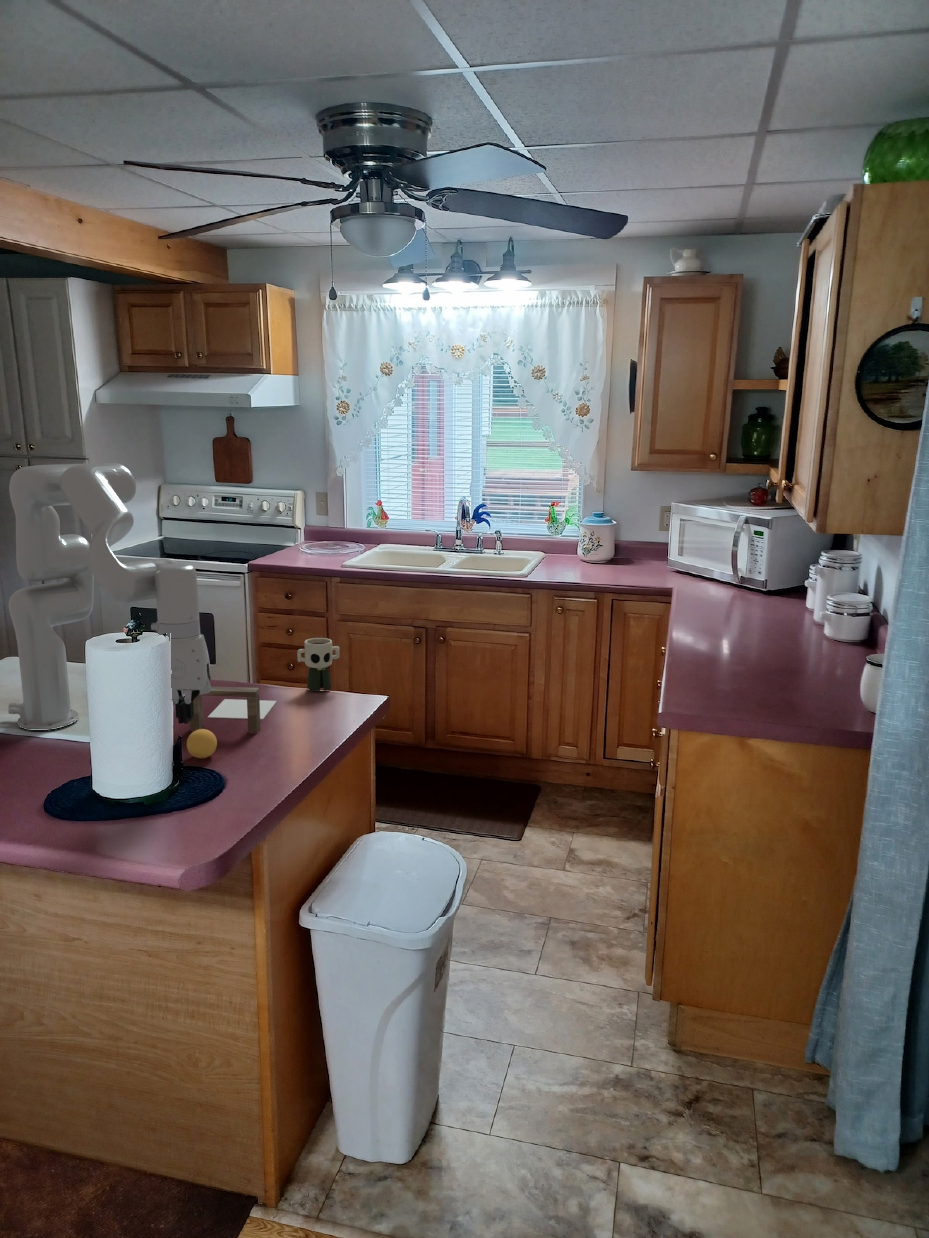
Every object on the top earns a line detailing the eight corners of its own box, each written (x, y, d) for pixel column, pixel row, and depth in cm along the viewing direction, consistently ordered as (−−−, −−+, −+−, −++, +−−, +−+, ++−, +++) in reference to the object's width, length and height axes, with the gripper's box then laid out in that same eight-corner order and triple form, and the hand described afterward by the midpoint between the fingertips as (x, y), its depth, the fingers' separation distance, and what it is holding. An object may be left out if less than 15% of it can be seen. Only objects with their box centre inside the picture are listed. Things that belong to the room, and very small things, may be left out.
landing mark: (207, 717, 206) (207, 716, 206) (224, 699, 219) (224, 699, 219) (263, 719, 206) (263, 718, 206) (276, 701, 218) (276, 700, 218)
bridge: (257, 733, 197) (255, 692, 195) (190, 731, 197) (188, 689, 195) (260, 728, 200) (259, 687, 198) (195, 726, 200) (192, 685, 198)
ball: (183, 762, 180) (181, 734, 179) (193, 751, 186) (191, 724, 185) (212, 763, 180) (211, 735, 179) (221, 752, 186) (220, 725, 185)
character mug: (301, 695, 223) (300, 646, 220) (295, 687, 230) (294, 639, 227) (343, 691, 227) (342, 642, 224) (336, 683, 234) (335, 636, 231)
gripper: (132, 633, 164) (139, 727, 168) (212, 634, 163) (217, 728, 167) (148, 624, 171) (154, 714, 175) (224, 625, 170) (229, 715, 174)
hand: (185, 721), depth 171 cm, fingers closed
